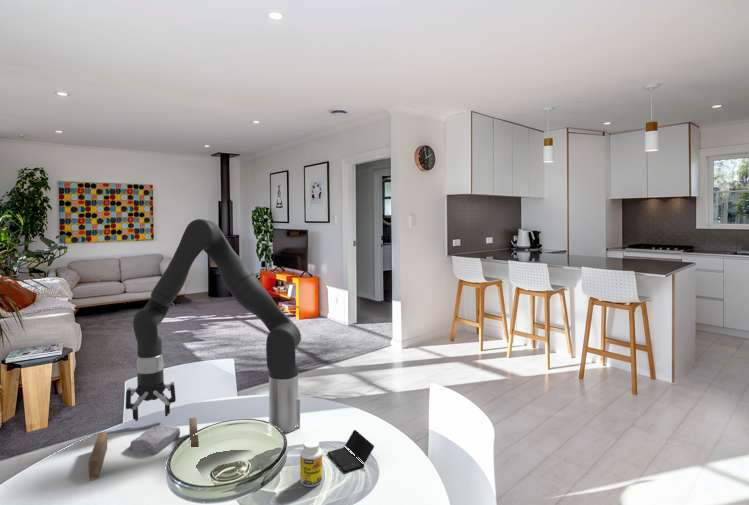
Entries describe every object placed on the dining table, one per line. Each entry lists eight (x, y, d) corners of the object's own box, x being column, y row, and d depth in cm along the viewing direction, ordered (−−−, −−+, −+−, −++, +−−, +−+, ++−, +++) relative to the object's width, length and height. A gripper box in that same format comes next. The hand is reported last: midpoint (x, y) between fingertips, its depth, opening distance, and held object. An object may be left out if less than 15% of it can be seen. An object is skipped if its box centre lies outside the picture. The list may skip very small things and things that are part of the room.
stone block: (127, 458, 127) (157, 455, 125) (124, 442, 127) (154, 439, 125) (155, 439, 139) (183, 436, 137) (152, 424, 139) (181, 421, 137)
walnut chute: (196, 432, 139) (196, 417, 138) (198, 458, 124) (198, 441, 124) (99, 449, 128) (98, 432, 128) (89, 480, 113) (88, 461, 113)
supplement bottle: (301, 489, 111) (301, 450, 110) (299, 476, 117) (299, 439, 116) (323, 486, 112) (323, 447, 112) (320, 474, 118) (321, 436, 117)
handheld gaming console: (321, 452, 126) (341, 420, 128) (336, 459, 130) (355, 428, 133) (345, 476, 117) (366, 442, 120) (360, 482, 122) (380, 449, 124)
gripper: (174, 362, 148) (175, 409, 150) (126, 367, 143) (127, 416, 144) (174, 369, 141) (175, 418, 143) (123, 375, 136) (125, 426, 137)
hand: (151, 417), depth 143 cm, fingers open, 8 cm apart
